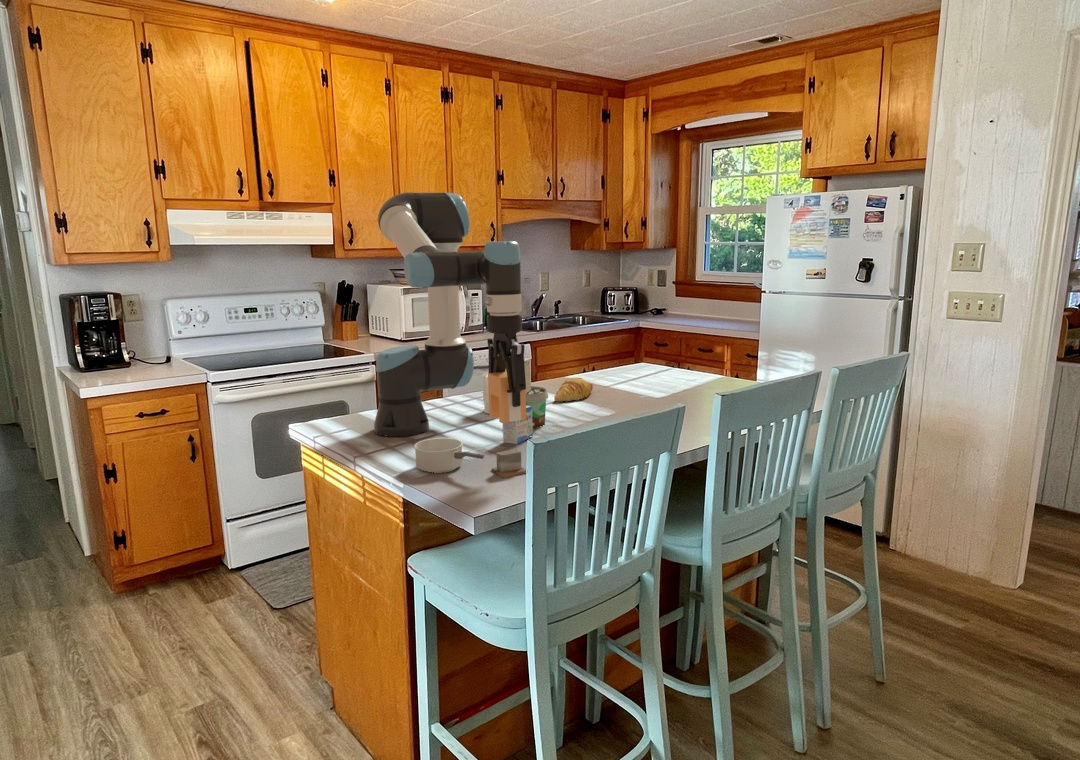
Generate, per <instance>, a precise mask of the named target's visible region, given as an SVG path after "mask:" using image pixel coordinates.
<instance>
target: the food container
mask: <svg viewBox="0 0 1080 760" xmlns="http://www.w3.org/2000/svg"><path fill="white" fill-rule="evenodd" d="M547 399H549V392H548V390H547V389H546V388H545V387H541V386H532V385H531V390H530V391H529V392H527V393H526V406H531V407H532V424H533V429H536V428H535V427H539V428H541V427H540V426H542V427H543V425H544V426H545V425H546V409H547V408H546V407H547Z"/></svg>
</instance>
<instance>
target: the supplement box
mask: <svg viewBox="0 0 1080 760" xmlns="http://www.w3.org/2000/svg"><path fill="white" fill-rule="evenodd" d="M524 365H525V380H526V389H525V390H526V393H527V392H529V391H530V390H531V386H532V380H531V377H532V376H531V359H529V358H524ZM505 371H506V370H505Z"/></svg>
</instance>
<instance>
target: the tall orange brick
mask: <svg viewBox="0 0 1080 760" xmlns="http://www.w3.org/2000/svg"><path fill="white" fill-rule="evenodd" d="M507 390H510V389H509V383H508V377H507V372H506V371H505V372H498V373H488V392H489V414H488V415H489V418H490V419H495V418H498V419H499V423H501V424H503V423H506V422H510V421H509V416H508V393H507ZM520 395H521V420H525V419H526V390H522V391H521V392H520ZM518 421H519V420H518Z"/></svg>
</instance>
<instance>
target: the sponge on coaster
mask: <svg viewBox="0 0 1080 760" xmlns="http://www.w3.org/2000/svg"><path fill="white" fill-rule="evenodd" d="M495 457H496V466H495V467H491V471H492V472H493V473H494V474H496V475H497V476H499V477H501V478H503V479H504V478H511V477H514V476H519V475H525V474H526V473H525V472H526V470H527V469H526V468H523V467H522V451H521V450H519V449H516V448H515V449H510V450H509V449H508V450H504V451H498V452H496V455H495Z"/></svg>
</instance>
